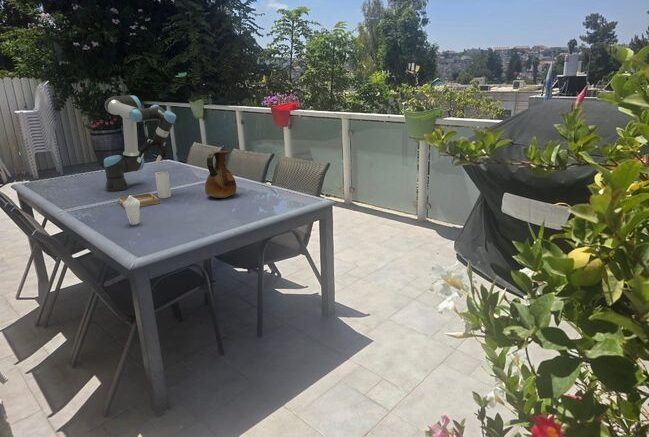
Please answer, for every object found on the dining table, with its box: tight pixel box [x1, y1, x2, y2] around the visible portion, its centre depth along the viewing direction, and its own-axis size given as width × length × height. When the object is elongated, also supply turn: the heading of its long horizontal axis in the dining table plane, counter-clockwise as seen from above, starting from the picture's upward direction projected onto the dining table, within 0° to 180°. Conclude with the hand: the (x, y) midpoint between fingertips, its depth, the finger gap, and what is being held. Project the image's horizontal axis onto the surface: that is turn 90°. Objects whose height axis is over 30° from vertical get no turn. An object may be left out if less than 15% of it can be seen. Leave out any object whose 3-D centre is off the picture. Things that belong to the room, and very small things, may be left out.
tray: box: [117, 192, 161, 209], centre depth 286 cm, size 20×20×3 cm
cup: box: [154, 171, 172, 199], centre depth 298 cm, size 8×8×16 cm
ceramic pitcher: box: [204, 150, 237, 199], centre depth 292 cm, size 20×20×30 cm
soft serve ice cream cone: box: [123, 194, 141, 226], centre depth 244 cm, size 8×8×16 cm
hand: (147, 163), depth 292 cm, fingers open, 13 cm apart
